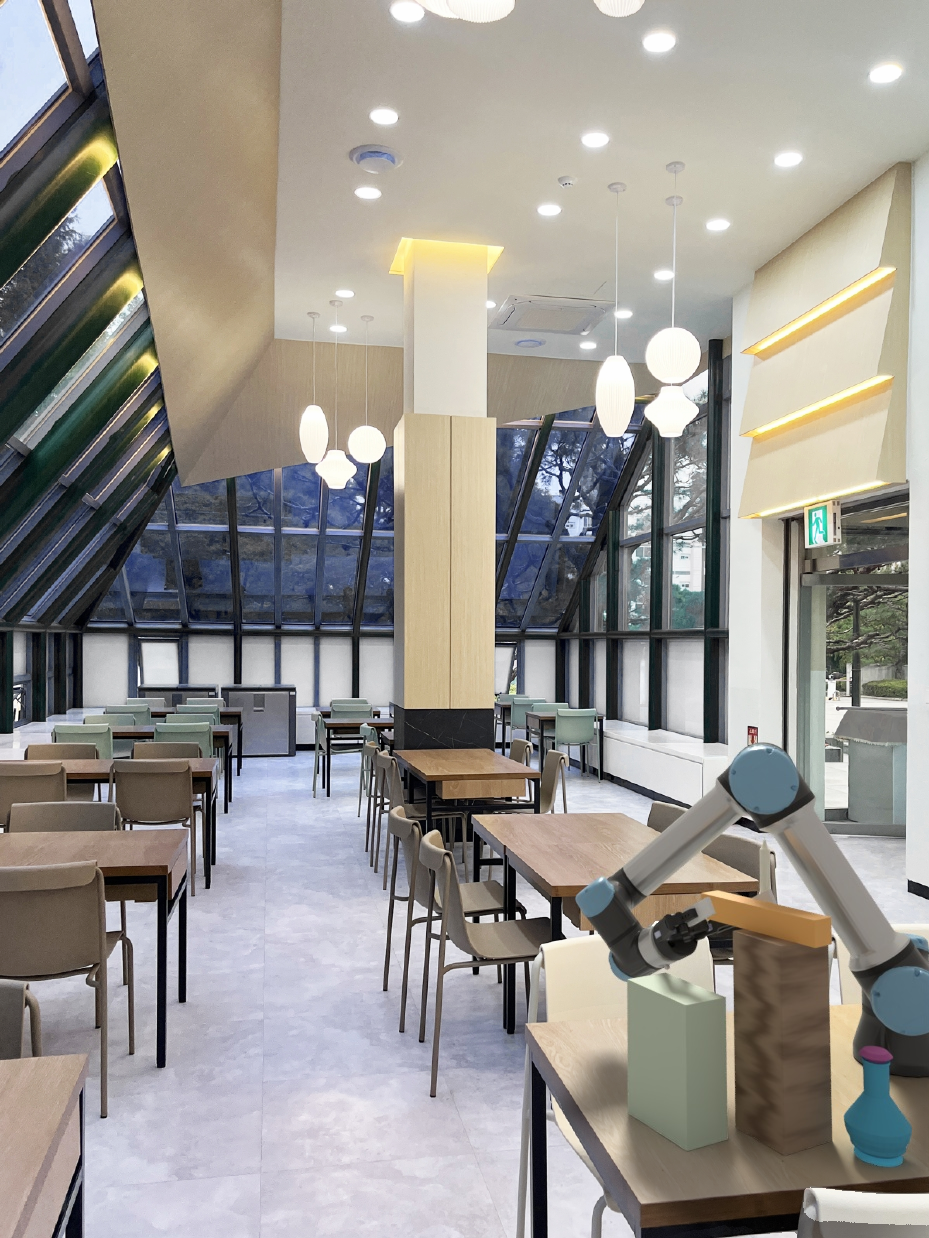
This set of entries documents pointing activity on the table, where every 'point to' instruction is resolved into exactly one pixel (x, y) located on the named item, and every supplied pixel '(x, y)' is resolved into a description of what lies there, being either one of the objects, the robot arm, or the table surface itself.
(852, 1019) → the table surface
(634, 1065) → the pale green rectangular block
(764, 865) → the candle
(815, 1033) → the post
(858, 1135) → the perfume bottle
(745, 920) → the bar
